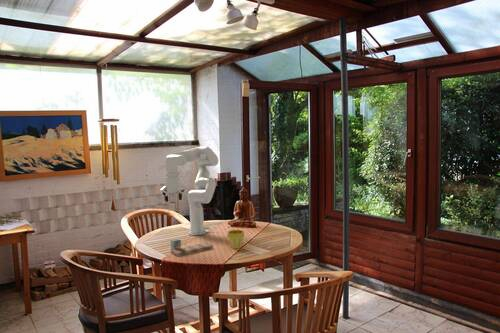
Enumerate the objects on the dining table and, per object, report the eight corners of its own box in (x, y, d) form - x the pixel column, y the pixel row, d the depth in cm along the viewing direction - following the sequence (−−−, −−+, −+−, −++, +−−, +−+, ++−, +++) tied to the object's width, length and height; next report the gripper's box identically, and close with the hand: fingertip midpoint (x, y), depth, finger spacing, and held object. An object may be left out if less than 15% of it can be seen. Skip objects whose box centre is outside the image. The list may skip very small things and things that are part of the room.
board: (205, 245, 260) (205, 242, 260) (213, 248, 253) (212, 245, 253) (171, 253, 246) (171, 249, 246) (177, 256, 239) (177, 252, 239)
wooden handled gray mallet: (178, 249, 254) (177, 238, 254) (188, 253, 244) (187, 242, 243) (171, 251, 251) (170, 239, 251) (180, 255, 241) (180, 243, 240)
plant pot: (238, 250, 247) (238, 234, 247) (224, 248, 253) (224, 232, 252) (247, 245, 256) (247, 230, 255) (234, 244, 262) (233, 229, 261)
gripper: (181, 173, 274) (182, 198, 275) (157, 175, 264) (158, 201, 265) (186, 174, 268) (188, 199, 269) (162, 176, 258) (163, 203, 259)
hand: (173, 200), depth 267 cm, fingers open, 9 cm apart
